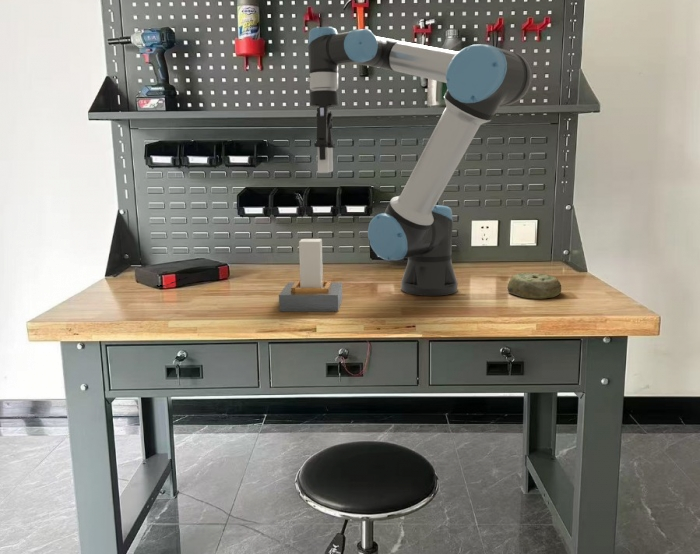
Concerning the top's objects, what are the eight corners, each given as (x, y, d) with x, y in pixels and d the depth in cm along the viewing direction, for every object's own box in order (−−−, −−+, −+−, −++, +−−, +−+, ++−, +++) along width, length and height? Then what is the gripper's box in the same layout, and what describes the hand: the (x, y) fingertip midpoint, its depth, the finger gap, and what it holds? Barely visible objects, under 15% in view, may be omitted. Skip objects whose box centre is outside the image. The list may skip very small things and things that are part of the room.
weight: (563, 301, 148) (564, 282, 147) (507, 299, 152) (508, 280, 151) (558, 289, 161) (559, 271, 160) (507, 287, 165) (507, 270, 164)
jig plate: (342, 297, 155) (342, 278, 154) (338, 311, 141) (337, 290, 140) (288, 297, 155) (288, 278, 154) (279, 311, 142) (278, 290, 141)
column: (323, 286, 150) (321, 238, 147) (320, 290, 145) (319, 241, 142) (303, 286, 150) (301, 238, 148) (300, 290, 145) (298, 241, 143)
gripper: (315, 95, 170) (317, 171, 175) (303, 85, 146) (306, 173, 150) (341, 95, 170) (342, 170, 174) (334, 85, 146) (335, 173, 150)
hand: (325, 172), depth 162 cm, fingers open, 13 cm apart
